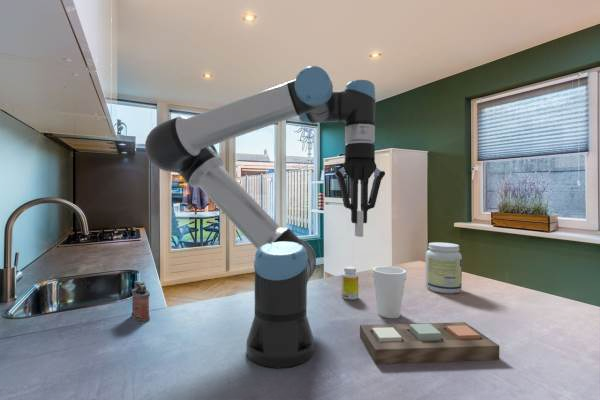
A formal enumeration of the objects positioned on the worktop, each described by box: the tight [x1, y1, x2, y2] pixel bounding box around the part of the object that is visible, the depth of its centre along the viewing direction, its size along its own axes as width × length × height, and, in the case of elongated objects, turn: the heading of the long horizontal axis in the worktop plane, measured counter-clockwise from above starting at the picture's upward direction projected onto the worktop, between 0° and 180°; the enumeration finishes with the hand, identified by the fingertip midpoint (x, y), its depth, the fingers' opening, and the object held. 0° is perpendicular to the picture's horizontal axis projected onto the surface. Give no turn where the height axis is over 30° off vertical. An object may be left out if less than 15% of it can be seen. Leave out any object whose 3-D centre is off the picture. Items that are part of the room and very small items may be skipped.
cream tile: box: [372, 327, 402, 342], centre depth 69 cm, size 5×5×2 cm
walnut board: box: [359, 321, 500, 365], centre depth 70 cm, size 27×12×3 cm, turn 94°
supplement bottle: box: [341, 265, 359, 300], centre depth 104 cm, size 6×6×10 cm
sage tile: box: [409, 323, 441, 341], centre depth 70 cm, size 5×5×2 cm
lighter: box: [131, 280, 151, 324], centre depth 86 cm, size 8×3×10 cm, turn 47°
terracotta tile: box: [446, 325, 480, 340], centre depth 71 cm, size 5×5×2 cm
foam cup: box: [372, 265, 407, 319], centre depth 90 cm, size 10×9×13 cm
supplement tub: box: [425, 241, 463, 295], centre depth 114 cm, size 12×12×17 cm
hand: (358, 235), depth 79 cm, fingers closed
